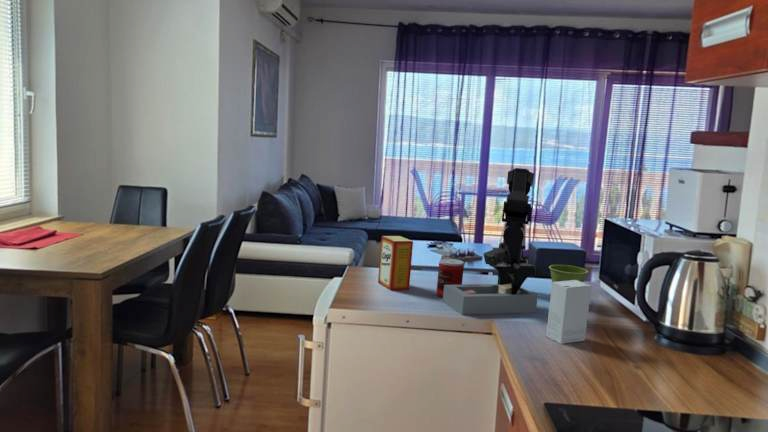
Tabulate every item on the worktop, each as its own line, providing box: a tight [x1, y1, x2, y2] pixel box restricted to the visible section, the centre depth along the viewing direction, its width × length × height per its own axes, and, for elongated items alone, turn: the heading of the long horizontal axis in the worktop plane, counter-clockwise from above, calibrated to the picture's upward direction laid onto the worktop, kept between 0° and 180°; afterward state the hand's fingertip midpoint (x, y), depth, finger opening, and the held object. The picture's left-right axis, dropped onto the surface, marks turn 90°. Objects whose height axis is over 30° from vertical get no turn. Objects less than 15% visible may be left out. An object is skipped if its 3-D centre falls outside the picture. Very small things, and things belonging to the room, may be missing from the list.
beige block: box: [499, 284, 519, 295], centre depth 181 cm, size 5×4×3 cm
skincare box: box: [545, 280, 592, 345], centre depth 154 cm, size 8×6×15 cm
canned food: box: [436, 258, 465, 299], centre depth 189 cm, size 8×8×11 cm
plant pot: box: [548, 264, 589, 283], centre depth 191 cm, size 12×12×11 cm
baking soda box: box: [377, 235, 414, 291], centre depth 195 cm, size 10×6×16 cm
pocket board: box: [442, 283, 539, 315], centre depth 180 cm, size 24×13×5 cm, turn 109°
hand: (507, 292), depth 181 cm, fingers open, 6 cm apart
